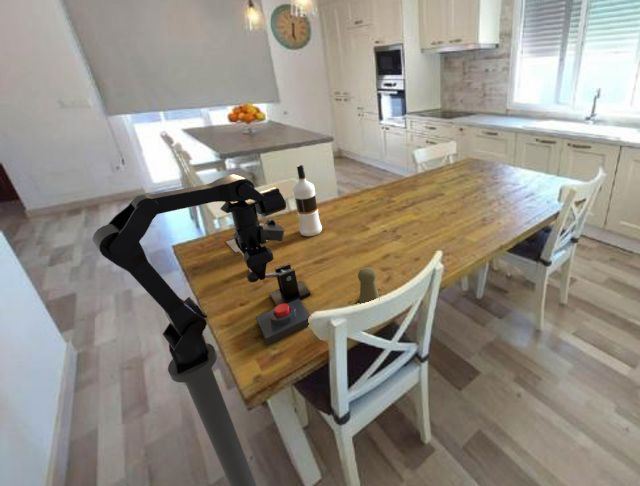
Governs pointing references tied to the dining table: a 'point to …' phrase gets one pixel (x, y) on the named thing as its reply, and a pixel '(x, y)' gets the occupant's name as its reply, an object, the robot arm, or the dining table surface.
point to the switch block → (283, 322)
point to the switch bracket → (288, 287)
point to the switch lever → (254, 278)
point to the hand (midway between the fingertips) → (258, 271)
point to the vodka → (306, 205)
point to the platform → (234, 245)
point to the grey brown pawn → (367, 285)
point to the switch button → (282, 310)
